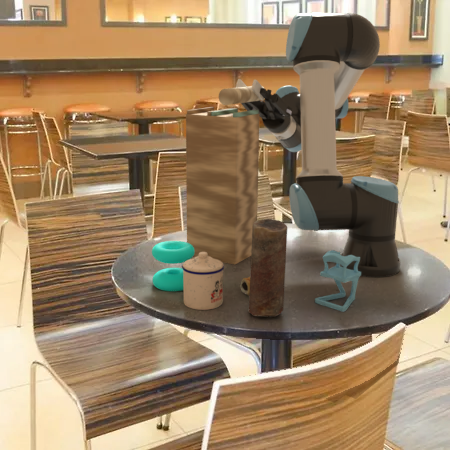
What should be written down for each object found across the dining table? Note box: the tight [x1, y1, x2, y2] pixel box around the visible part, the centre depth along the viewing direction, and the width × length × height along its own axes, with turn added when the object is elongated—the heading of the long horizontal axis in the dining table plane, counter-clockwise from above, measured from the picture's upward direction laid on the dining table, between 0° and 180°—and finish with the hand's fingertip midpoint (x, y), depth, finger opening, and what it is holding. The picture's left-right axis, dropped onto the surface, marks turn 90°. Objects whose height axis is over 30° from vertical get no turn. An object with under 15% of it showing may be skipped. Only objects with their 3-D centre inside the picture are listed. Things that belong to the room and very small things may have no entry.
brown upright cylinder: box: [248, 218, 288, 318], centre depth 136 cm, size 8×7×20 cm
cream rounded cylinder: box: [218, 85, 265, 106], centre depth 169 cm, size 18×4×4 cm, turn 149°
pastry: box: [239, 276, 250, 297], centre depth 152 cm, size 9×7×4 cm
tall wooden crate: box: [185, 106, 260, 265], centre depth 174 cm, size 12×15×39 cm
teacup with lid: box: [181, 252, 225, 311], centre depth 145 cm, size 12×9×12 cm
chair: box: [314, 249, 362, 312], centre depth 144 cm, size 8×8×12 cm
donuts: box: [151, 240, 195, 292], centre depth 154 cm, size 10×10×10 cm
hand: (245, 84), depth 170 cm, fingers closed on cream rounded cylinder, 4 cm apart
